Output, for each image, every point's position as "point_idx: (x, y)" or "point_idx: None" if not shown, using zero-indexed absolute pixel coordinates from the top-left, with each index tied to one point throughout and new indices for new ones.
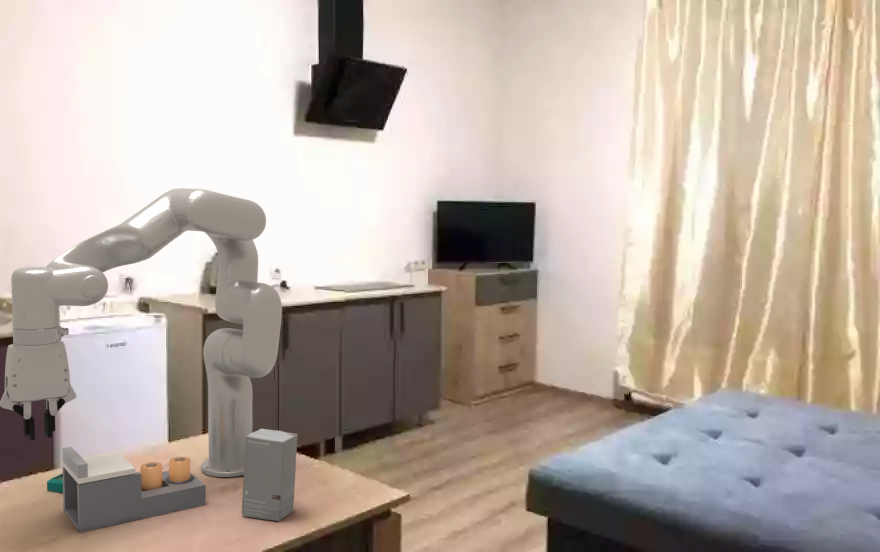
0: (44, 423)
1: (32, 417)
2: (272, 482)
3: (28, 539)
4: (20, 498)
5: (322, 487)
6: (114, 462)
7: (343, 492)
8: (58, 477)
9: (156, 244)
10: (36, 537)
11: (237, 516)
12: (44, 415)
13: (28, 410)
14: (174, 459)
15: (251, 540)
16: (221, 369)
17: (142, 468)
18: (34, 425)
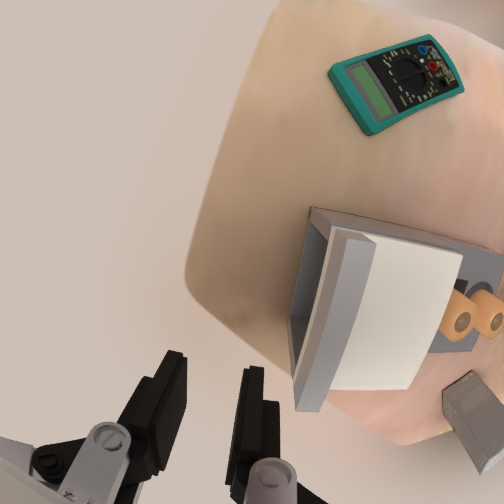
0: (237, 413)
1: (158, 456)
2: (461, 438)
3: (211, 291)
4: (270, 77)
5: None
6: (413, 333)
7: None
8: (359, 62)
9: None
10: (224, 292)
11: (441, 386)
12: (231, 453)
13: (124, 499)
14: (494, 317)
15: (398, 435)
16: None
17: (445, 327)
18: (170, 450)
